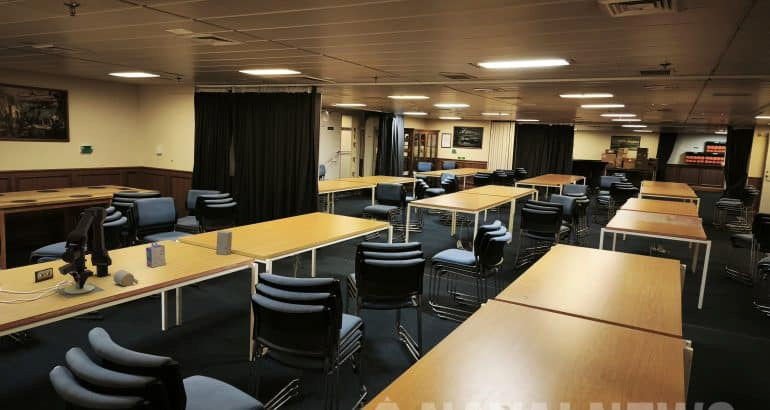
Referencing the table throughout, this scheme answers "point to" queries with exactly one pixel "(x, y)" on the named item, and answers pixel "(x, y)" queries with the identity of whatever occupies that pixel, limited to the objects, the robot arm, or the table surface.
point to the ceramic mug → (124, 278)
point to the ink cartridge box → (155, 255)
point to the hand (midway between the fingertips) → (79, 287)
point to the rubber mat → (67, 295)
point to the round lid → (77, 289)
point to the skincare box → (224, 242)
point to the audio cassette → (44, 275)
